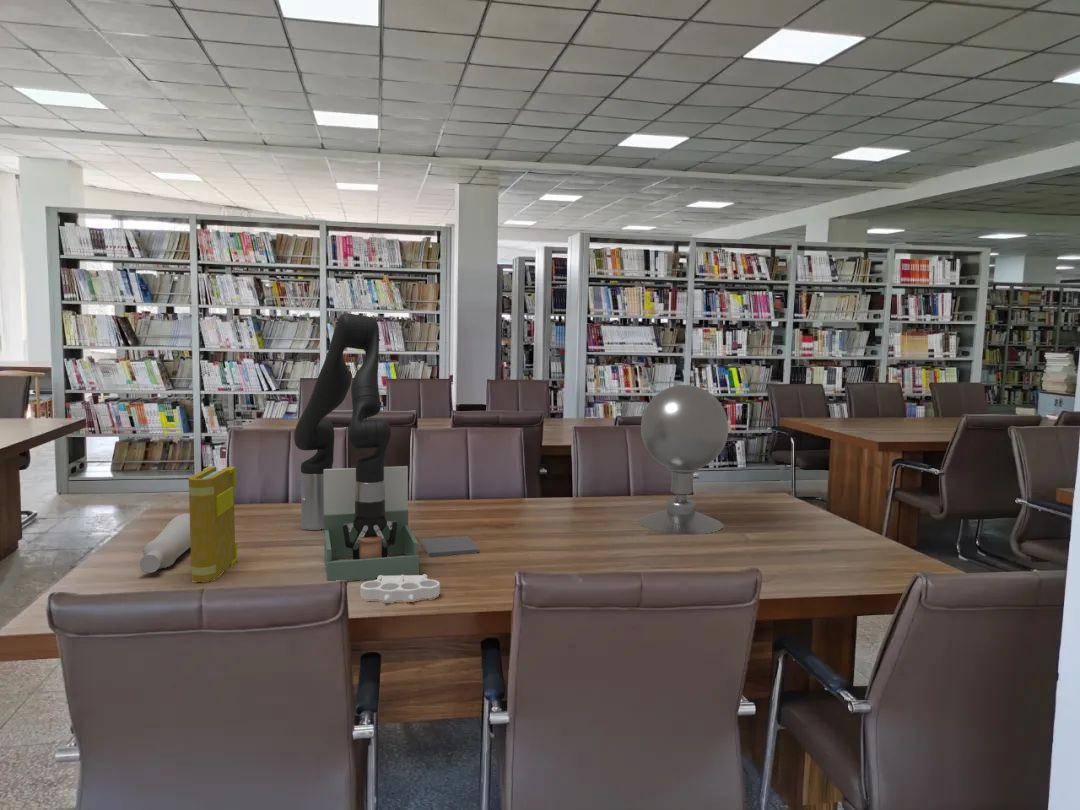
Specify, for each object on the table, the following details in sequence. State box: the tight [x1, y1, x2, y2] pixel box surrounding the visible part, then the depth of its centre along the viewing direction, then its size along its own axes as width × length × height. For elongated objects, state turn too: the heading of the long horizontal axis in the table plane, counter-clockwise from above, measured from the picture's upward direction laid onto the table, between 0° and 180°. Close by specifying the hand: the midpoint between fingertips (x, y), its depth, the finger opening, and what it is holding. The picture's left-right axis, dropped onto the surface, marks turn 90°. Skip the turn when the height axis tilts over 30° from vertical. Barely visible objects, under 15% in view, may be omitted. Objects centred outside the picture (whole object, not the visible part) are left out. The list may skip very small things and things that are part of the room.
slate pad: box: [420, 535, 480, 557], centre depth 211 cm, size 14×14×1 cm
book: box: [188, 466, 238, 583], centre depth 186 cm, size 17×7×25 cm, turn 5°
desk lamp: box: [637, 384, 729, 535], centre depth 242 cm, size 28×28×45 cm
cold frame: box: [323, 465, 420, 582], centre depth 192 cm, size 22×21×24 cm
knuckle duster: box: [359, 573, 441, 601], centre depth 174 cm, size 3×18×15 cm
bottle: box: [139, 513, 191, 573], centre depth 196 cm, size 9×9×30 cm
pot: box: [358, 536, 383, 559], centre depth 193 cm, size 7×7×8 cm
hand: (370, 561), depth 193 cm, fingers closed on pot, 6 cm apart
